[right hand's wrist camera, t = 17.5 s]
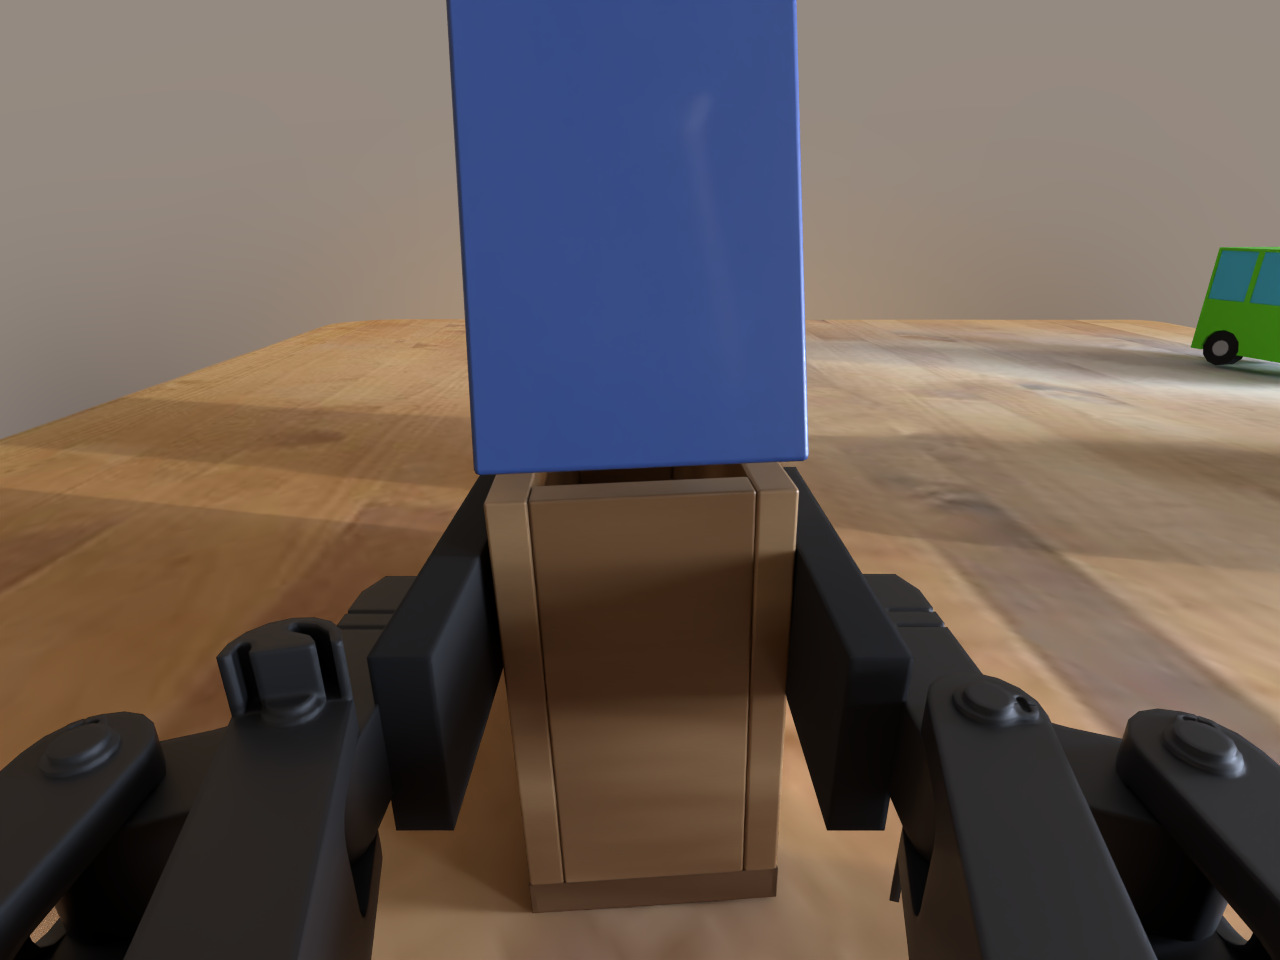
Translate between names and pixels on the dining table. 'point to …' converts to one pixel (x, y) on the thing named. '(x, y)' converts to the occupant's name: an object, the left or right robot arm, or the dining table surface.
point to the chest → (646, 677)
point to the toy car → (1241, 307)
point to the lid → (630, 232)
